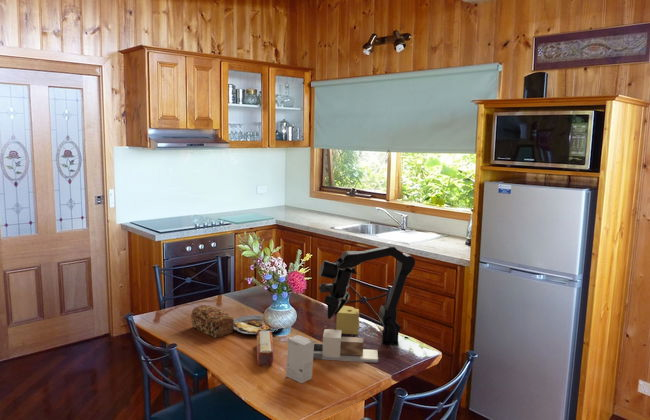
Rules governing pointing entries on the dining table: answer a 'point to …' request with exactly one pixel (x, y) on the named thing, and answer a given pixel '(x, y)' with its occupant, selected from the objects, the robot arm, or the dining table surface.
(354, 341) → the walnut block
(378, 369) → the dining table surface
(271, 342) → the snack package
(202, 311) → the bread
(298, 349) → the skincare box
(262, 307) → the dining table surface
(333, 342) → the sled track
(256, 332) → the food plate
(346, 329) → the cheese
